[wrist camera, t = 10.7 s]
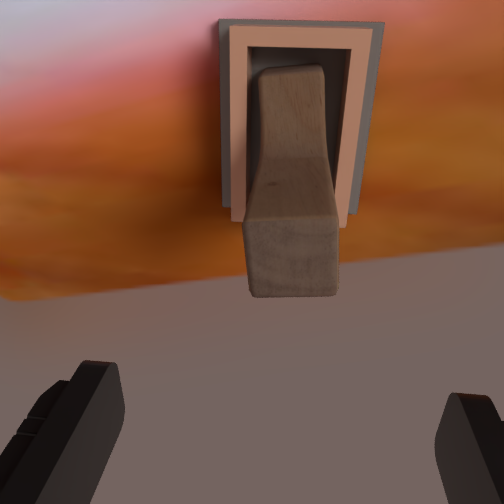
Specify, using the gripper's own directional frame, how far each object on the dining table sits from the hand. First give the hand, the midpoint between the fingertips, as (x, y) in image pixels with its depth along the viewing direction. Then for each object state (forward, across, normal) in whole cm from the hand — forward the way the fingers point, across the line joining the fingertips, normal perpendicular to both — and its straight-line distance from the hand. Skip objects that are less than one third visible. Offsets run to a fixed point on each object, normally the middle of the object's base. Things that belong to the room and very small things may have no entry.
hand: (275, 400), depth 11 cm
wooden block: (+29, 0, 0) cm, 29 cm away
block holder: (+30, 0, 0) cm, 30 cm away
